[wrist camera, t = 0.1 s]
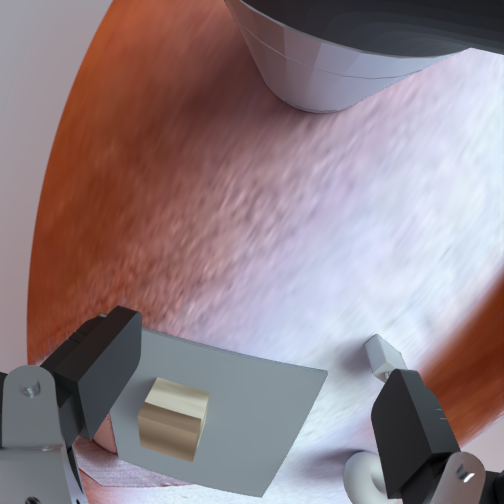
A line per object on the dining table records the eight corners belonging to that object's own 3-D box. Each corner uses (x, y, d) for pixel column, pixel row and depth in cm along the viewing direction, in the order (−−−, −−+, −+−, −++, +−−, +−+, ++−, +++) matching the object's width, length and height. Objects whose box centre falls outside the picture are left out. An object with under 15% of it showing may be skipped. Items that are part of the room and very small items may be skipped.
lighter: (363, 345, 28) (379, 404, 21) (376, 333, 28) (397, 391, 20) (404, 376, 29) (424, 431, 22) (417, 366, 29) (439, 420, 21)
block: (157, 377, 32) (137, 415, 26) (210, 392, 32) (196, 433, 26) (157, 410, 34) (140, 446, 29) (204, 424, 34) (192, 462, 28)
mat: (101, 313, 31) (98, 315, 30) (327, 371, 30) (327, 374, 29) (120, 457, 41) (119, 459, 41) (262, 495, 40) (261, 497, 40)
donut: (396, 458, 34) (407, 514, 25) (376, 469, 36) (384, 524, 26) (356, 436, 33) (364, 502, 24) (334, 448, 34) (338, 512, 25)
